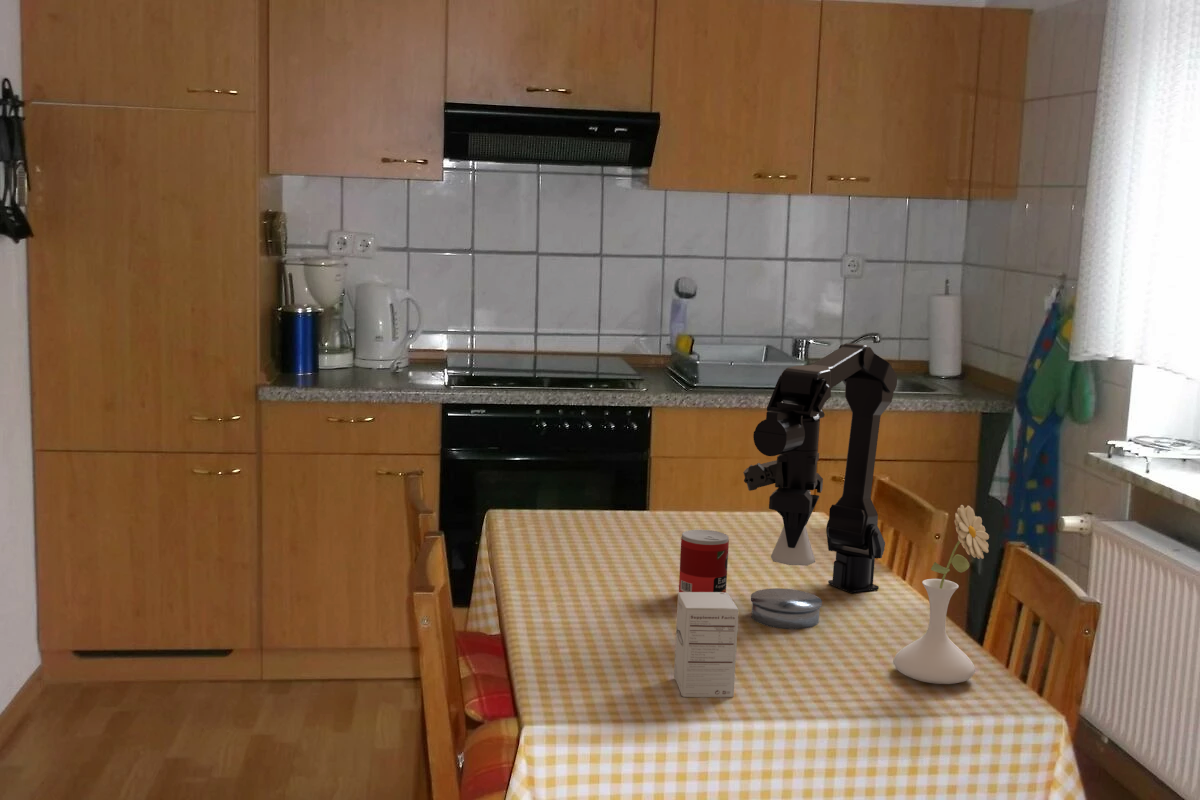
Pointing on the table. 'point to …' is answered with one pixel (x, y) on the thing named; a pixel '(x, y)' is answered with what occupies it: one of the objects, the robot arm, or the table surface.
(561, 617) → the table surface
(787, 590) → the biscuit tin
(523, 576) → the table surface
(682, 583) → the canned food
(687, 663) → the supplement box
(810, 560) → the flask
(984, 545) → the flower in vase
